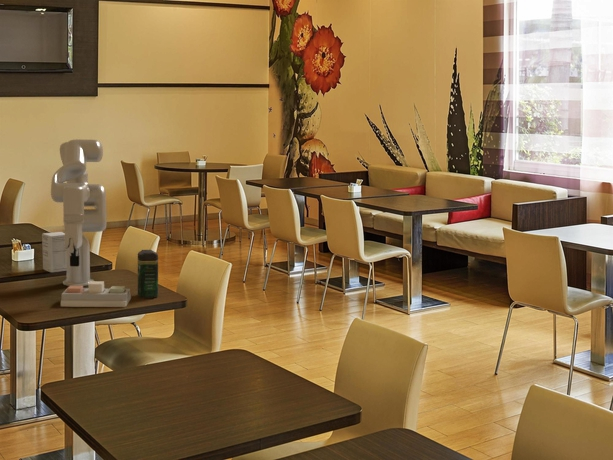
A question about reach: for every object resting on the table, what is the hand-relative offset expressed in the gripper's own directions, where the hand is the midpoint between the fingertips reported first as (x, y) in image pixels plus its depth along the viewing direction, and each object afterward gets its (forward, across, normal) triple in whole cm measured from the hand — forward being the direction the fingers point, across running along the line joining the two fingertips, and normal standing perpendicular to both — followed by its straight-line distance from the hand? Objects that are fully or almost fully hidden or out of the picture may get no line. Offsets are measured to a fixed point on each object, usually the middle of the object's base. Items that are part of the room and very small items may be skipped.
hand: (74, 265), depth 314 cm
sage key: (+12, +1, +16) cm, 20 cm away
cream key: (+10, +1, +8) cm, 13 cm away
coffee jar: (+14, -11, +26) cm, 32 cm away
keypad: (+14, +1, +8) cm, 16 cm away
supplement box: (+16, -62, -22) cm, 68 cm away
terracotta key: (+12, +1, 0) cm, 12 cm away
